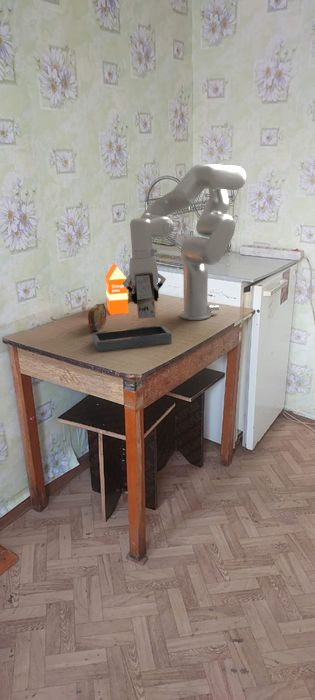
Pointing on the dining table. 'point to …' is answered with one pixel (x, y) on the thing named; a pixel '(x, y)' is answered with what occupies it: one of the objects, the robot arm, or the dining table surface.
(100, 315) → the tin
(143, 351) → the dining table surface
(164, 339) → the dark grey tray
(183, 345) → the dining table surface
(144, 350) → the dining table surface
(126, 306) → the orange juice
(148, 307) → the coffee box
